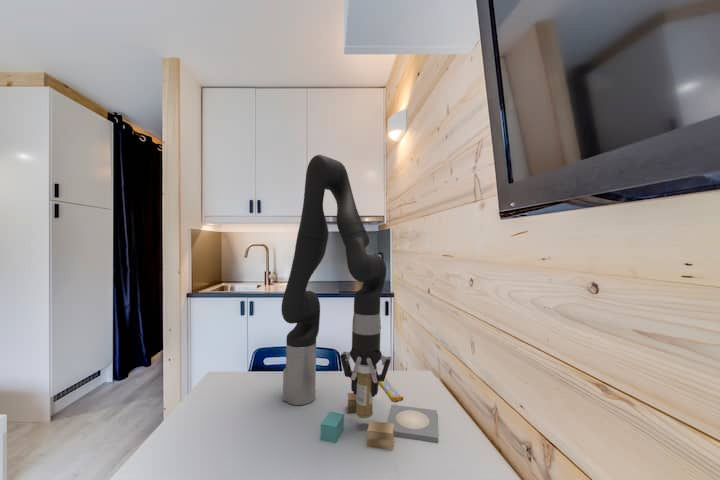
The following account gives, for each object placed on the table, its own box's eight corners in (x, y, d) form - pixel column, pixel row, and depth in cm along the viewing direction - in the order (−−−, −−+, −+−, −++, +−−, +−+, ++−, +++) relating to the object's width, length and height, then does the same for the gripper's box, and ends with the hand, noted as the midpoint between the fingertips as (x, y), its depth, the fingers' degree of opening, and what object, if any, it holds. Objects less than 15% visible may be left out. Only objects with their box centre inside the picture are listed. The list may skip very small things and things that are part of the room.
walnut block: (347, 413, 87) (347, 399, 87) (347, 406, 91) (347, 393, 91) (368, 413, 87) (368, 399, 87) (367, 406, 91) (367, 393, 91)
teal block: (320, 440, 75) (320, 423, 75) (329, 426, 81) (329, 411, 81) (335, 443, 74) (335, 426, 74) (343, 429, 79) (344, 413, 80)
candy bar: (404, 402, 94) (404, 396, 94) (392, 404, 93) (392, 398, 93) (385, 379, 110) (385, 374, 111) (374, 381, 109) (374, 375, 109)
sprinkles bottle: (376, 415, 80) (377, 364, 80) (361, 420, 78) (363, 367, 78) (366, 407, 84) (367, 358, 84) (352, 412, 81) (353, 361, 82)
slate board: (384, 434, 77) (385, 429, 77) (391, 408, 90) (391, 404, 90) (437, 442, 74) (437, 437, 74) (436, 414, 87) (436, 409, 87)
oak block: (367, 447, 72) (367, 430, 73) (370, 437, 76) (370, 420, 76) (392, 450, 71) (392, 433, 71) (393, 440, 75) (394, 423, 75)
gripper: (336, 330, 79) (334, 397, 79) (391, 336, 76) (389, 405, 75) (344, 323, 86) (342, 384, 86) (394, 328, 83) (393, 391, 83)
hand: (364, 393), depth 81 cm, fingers closed on sprinkles bottle, 4 cm apart
